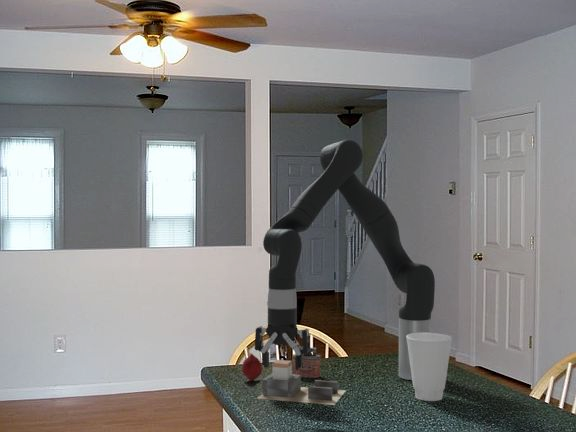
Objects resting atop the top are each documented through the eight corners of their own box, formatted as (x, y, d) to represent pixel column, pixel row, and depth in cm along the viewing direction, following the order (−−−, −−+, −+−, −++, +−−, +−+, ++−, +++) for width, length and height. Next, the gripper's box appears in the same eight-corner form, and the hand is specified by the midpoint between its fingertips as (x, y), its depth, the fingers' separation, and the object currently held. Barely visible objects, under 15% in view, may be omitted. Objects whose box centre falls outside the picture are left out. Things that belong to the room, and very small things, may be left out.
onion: (265, 379, 204) (265, 351, 204) (257, 384, 198) (257, 355, 198) (246, 377, 206) (246, 350, 206) (238, 382, 200) (238, 354, 200)
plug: (291, 391, 185) (291, 360, 185) (287, 395, 181) (287, 364, 181) (277, 390, 186) (277, 359, 186) (272, 394, 182) (272, 363, 182)
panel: (346, 396, 186) (346, 375, 186) (334, 410, 173) (334, 388, 173) (273, 390, 192) (273, 370, 192) (256, 404, 178) (256, 382, 178)
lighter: (320, 380, 203) (320, 345, 203) (320, 383, 200) (320, 348, 199) (292, 379, 204) (292, 345, 204) (291, 382, 200) (291, 347, 200)
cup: (401, 401, 182) (402, 339, 181) (410, 389, 193) (410, 331, 192) (448, 405, 177) (449, 342, 177) (454, 393, 189) (455, 334, 188)
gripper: (312, 305, 185) (312, 366, 185) (260, 302, 189) (260, 363, 189) (304, 309, 178) (304, 373, 178) (251, 306, 182) (251, 369, 182)
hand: (282, 368), depth 184 cm, fingers open, 8 cm apart
